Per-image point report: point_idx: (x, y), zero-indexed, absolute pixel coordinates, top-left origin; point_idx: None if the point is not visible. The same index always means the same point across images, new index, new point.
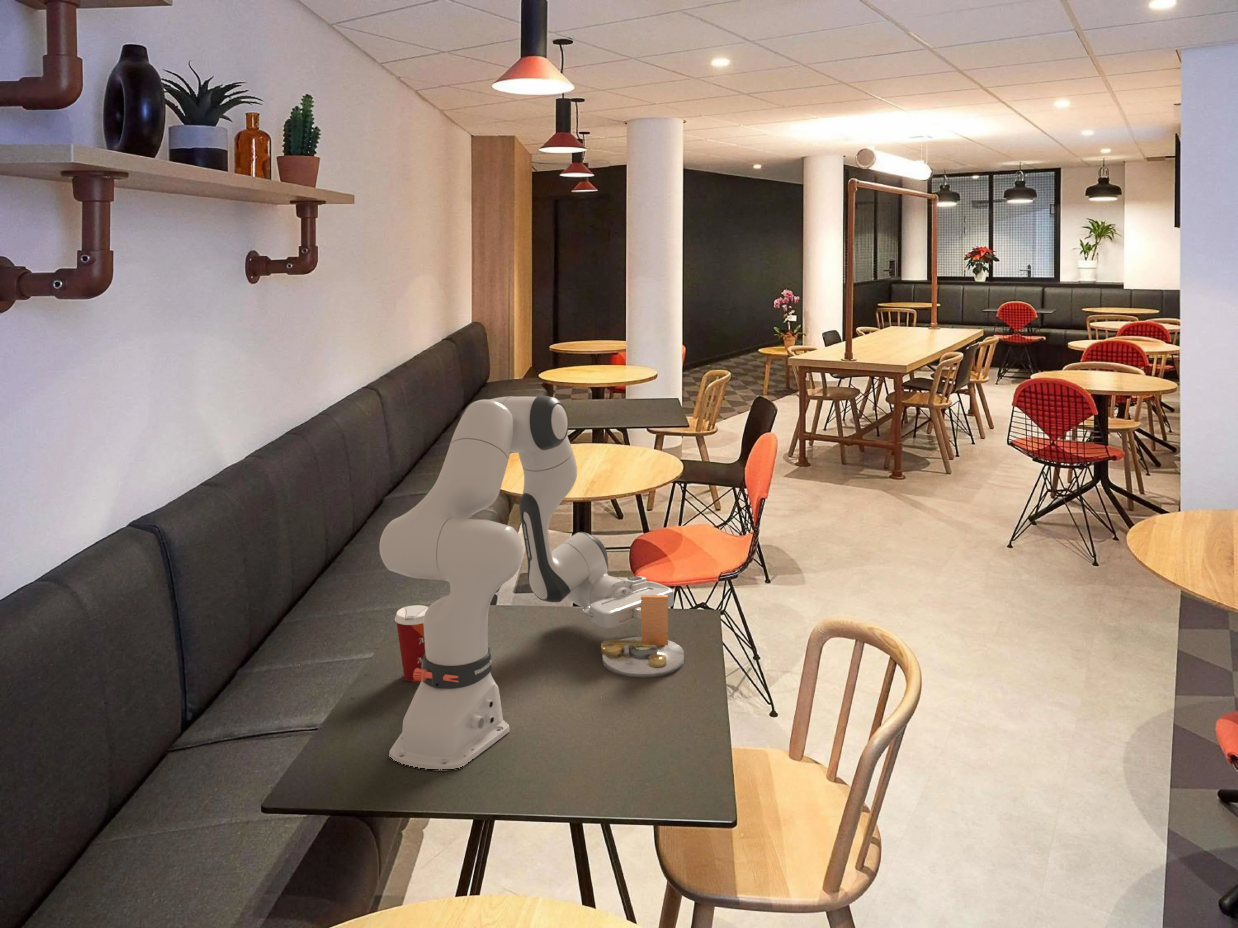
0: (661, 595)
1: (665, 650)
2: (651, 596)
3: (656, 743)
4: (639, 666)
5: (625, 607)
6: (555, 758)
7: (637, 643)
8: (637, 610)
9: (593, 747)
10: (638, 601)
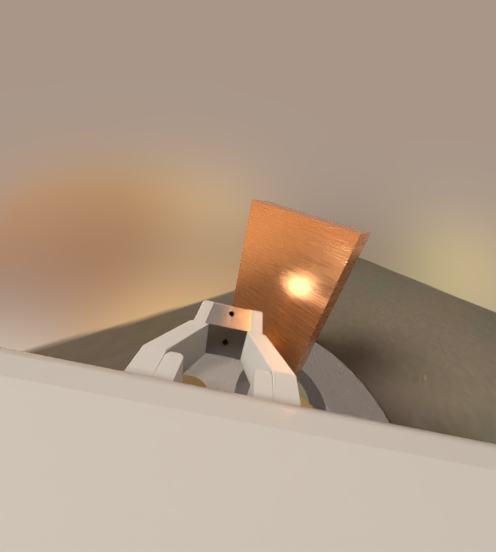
0: (274, 206)
1: (221, 366)
2: (315, 218)
3: (370, 289)
4: (326, 367)
5: (394, 430)
6: (488, 334)
7: (303, 399)
8: (294, 377)
9: (439, 319)
10: (227, 415)
